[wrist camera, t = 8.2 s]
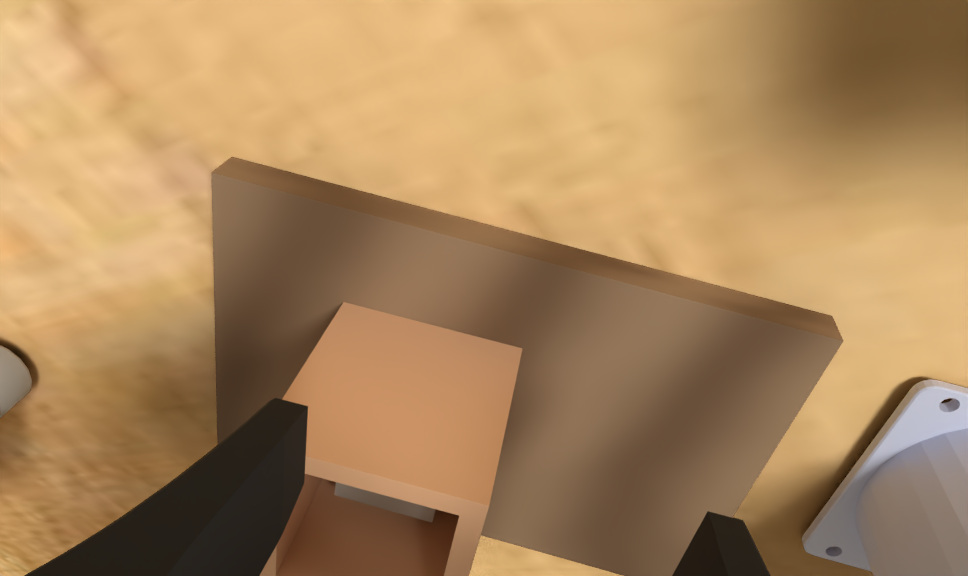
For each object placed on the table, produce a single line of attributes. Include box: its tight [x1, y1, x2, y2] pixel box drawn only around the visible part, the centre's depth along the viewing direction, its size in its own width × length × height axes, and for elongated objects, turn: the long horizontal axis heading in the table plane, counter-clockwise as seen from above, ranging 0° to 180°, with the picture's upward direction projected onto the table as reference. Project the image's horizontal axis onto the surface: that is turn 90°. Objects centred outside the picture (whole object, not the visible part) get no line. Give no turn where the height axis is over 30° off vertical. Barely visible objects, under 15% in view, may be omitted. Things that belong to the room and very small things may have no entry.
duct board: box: [212, 157, 843, 576], centre depth 21 cm, size 18×12×5 cm, turn 79°
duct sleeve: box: [260, 302, 522, 576], centre depth 20 cm, size 6×6×6 cm
